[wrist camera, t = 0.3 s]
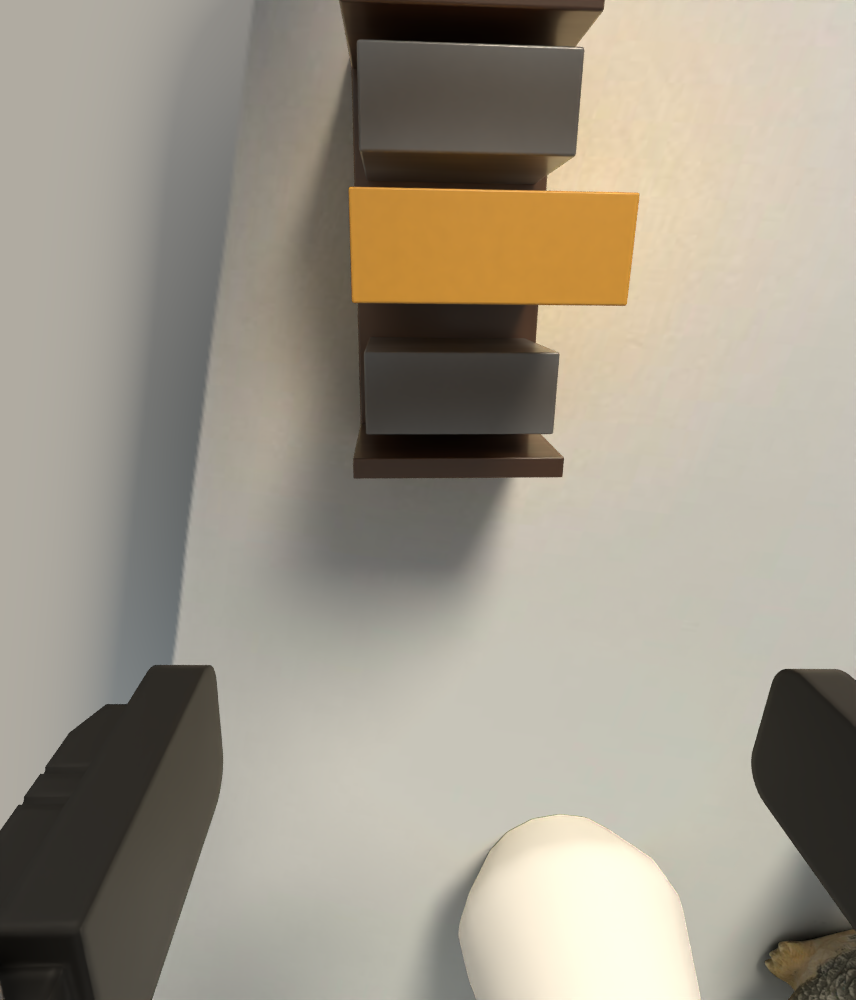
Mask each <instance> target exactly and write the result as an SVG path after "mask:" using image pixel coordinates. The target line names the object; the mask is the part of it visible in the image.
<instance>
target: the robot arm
mask: <svg viewBox="0 0 856 1000" xmlns="http://www.w3.org/2000/svg"><path fill="white" fill-rule="evenodd" d="M751 767H752V774H753V779H754V782H755V786H756V788H757V791H758V793H759V795H760V797H761V799H762V800H763V802H764V803H765V805H766V806H767V807H768V809H769V810H770V812H771V813H772V815H773V816H774V817H775V819H776V820H777V822H778V823H779V824H780V826H781V827H782V829H783V830H784V831H785V833H786V834H787V836H788V837H789V838H790V840H791V841H792V843H793V844H794V845H795V847H796V848H797V850H798V851H799V853H800V854H801V855H802V857H803V858H804V860H805V861H806V862H807V864H808V865H809V867H810V868H811V869H812V871H813V872H814V874H815V875H816V876H817V878H818V879H819V881H820V882H821V883H822V885H823V886H824V888H825V889H826V891H827V892H828V893H829V895H830V896H831V898H832V899H833V900H834V902H835V903H836V905H837V906H838V907H839V909H840V910H841V912H842V913H843V914H844V916H845V917H846V919H847V920H848V921H849V923H850V924H851V926H852V927H853V929H854V930H855V931H856V680H855V679H853V678H852V677H851V676H850V675H848V674H847V673H846V672H843V671H841V670H838V669H784V670H781V671H780V672H778V673H777V674H776V676H775V677H774V679H773V682H772V685H771V688H770V692H769V695H768V699H767V702H766V706H765V709H764V713H763V716H762V720H761V723H760V727H759V730H758V734H757V737H756V741H755V744H754V748H753V752H752V759H751ZM222 772H223V749H222V737H221V726H220V715H219V704H218V692H217V681H216V675H215V671H214V668H213V667H212V666H211V665H154V666H153V667H151V668H150V669H149V670H148V672H147V673H146V675H145V676H144V678H143V680H142V681H141V683H140V685H139V686H138V688H137V689H136V691H135V693H134V694H133V696H132V697H131V699H130V701H129V702H128V704H107V705H105V706H104V707H102V708H101V709H100V710H98V711H97V712H96V713H94V714H93V715H92V716H90V717H89V718H88V719H87V720H85V721H84V722H83V723H81V724H80V725H79V726H78V727H76V728H75V729H74V730H73V731H71V732H70V733H69V734H68V736H67V737H66V738H65V740H64V741H63V743H62V744H61V746H60V747H59V748H58V750H57V751H56V753H55V754H54V755H53V757H52V758H51V760H50V761H49V763H48V764H47V765H46V767H45V773H44V774H40V775H39V777H38V778H37V779H36V781H35V782H34V784H33V785H32V786H31V788H30V789H29V791H28V792H27V794H26V795H25V796H24V802H23V804H22V805H18V806H17V808H16V809H15V810H14V812H13V813H12V815H11V816H10V818H9V819H8V820H7V822H6V823H5V825H4V826H3V828H2V829H1V830H0V1000H152V998H153V995H154V992H155V989H156V986H157V983H158V980H159V977H160V974H161V971H162V968H163V965H164V962H165V959H166V956H167V953H168V950H169V947H170V944H171V941H172V938H173V935H174V932H175V929H176V926H177V923H178V920H179V917H180V914H181V911H182V908H183V905H184V902H185V899H186V896H187V893H188V890H189V887H190V884H191V881H192V877H193V874H194V871H195V868H196V865H197V862H198V859H199V856H200V853H201V850H202V847H203V844H204V841H205V838H206V835H207V832H208V829H209V826H210V823H211V820H212V817H213V814H214V811H215V808H216V805H217V802H218V798H219V793H220V788H221V781H222Z"/></svg>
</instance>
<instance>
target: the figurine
mask: <svg viewBox="0 0 856 1000" xmlns="http://www.w3.org/2000/svg"><path fill="white" fill-rule="evenodd" d="M769 955H770V957H771V958H770V959H768V960H766V961H765V965H766V966H767V968H768V969H769V971H770V972H771V973H772V974H774V975H775V976H776V977H778V978H779V979H781V980H783V981H785V982H787V983H788V984H789V985H790V986H791V987H792V988H793V990H794V991H795V992H794V993H793V994H792V995H791V997H790V998H789V999H788V1000H856V931H855V930H854V929H852V930H846V931H843V932H839V933H835V934H831V935H827V936H824V937H820V938H816V939H812V940H806V941H790V940H789V941H783V942H779V943H778V948H777V949H775V950H773V951H771V952H770V953H769Z"/></svg>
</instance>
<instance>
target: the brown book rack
mask: <svg viewBox="0 0 856 1000" xmlns="http://www.w3.org/2000/svg"><path fill="white" fill-rule="evenodd" d="M604 2H605V0H339V3H340V8H341V14H342V19H343V24H344V30H345V35H346V40H347V46H348V51H349V56H350V62H351V73H352V111H353V148H354V186H355V187H384V188H432V189H480V190H528V191H546V185H547V175H548V174H550V173H551V172H553V171H554V170H555V169H557V168H558V167H560V166H561V165H563V164H564V163H566V162H567V161H568V160H570V159H571V158H573V157H574V156H575V154H576V145H577V133H578V121H579V108H580V96H581V84H582V72H583V60H584V48H583V47H575V46H576V45H577V44H578V42H579V41H580V40H581V39H582V37H583V36H584V35H585V33H586V32H587V31H588V30H589V28H590V27H591V26H592V24H593V23H594V22H595V21H596V19H597V18H598V17H599V15H600V14H601V13H602V12H603V10H604ZM537 316H538V305H506V304H406V303H358V337H359V375H360V412H361V425H360V430H359V435H358V439H357V444H356V448H355V453H354V457H353V473H354V478H513V477H562V474H563V463H564V457H563V456H562V455H561V454H560V453H559V452H558V451H557V450H556V449H555V448H554V447H553V446H552V445H551V444H550V443H549V442H548V441H547V440H546V439H545V438H544V437H543V436H542V435H541V434H552V433H553V427H554V414H555V402H556V390H557V378H558V366H559V353H558V352H556V351H553V350H551V349H549V348H546V347H544V346H541V345H539V344H537V343H536V330H537Z"/></svg>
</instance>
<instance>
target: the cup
mask: <svg viewBox="0 0 856 1000" xmlns="http://www.w3.org/2000/svg"><path fill="white" fill-rule="evenodd" d="M458 937H459V941H460V945H461V949H462V953H463V958H464V962H465V966H466V970H467V974H468V978H469V981H470V984H471V987H472V990H473V993H474V995H475V998H476V1000H701V997H700V992H699V987H698V982H697V977H696V972H695V967H694V962H693V957H692V952H691V947H690V942H689V937H688V932H687V927H686V922H685V917H684V912H683V908H682V904H681V901H680V898H679V895H678V894H677V892H676V891H675V889H674V888H673V887H672V885H671V884H670V882H669V881H668V880H667V878H666V877H665V875H664V874H663V873H662V871H661V870H660V868H659V867H658V866H657V864H656V863H655V862H654V860H653V859H652V858H651V857H649V856H648V855H646V854H645V853H643V852H642V851H640V850H639V849H637V848H636V847H634V846H633V845H631V844H630V843H628V842H627V841H625V840H624V839H622V838H621V837H619V836H618V835H616V834H615V833H613V832H612V831H610V830H609V829H607V828H605V827H603V826H602V825H600V824H598V823H596V822H594V821H592V820H590V819H588V818H586V817H578V816H570V815H562V814H558V815H553V816H547V817H542V818H537V819H531V820H529V821H528V822H526V823H524V824H522V825H520V826H518V827H516V828H514V829H512V830H510V831H508V832H507V833H506V834H505V835H504V836H503V837H502V838H501V839H500V840H499V842H498V843H497V844H496V845H495V846H494V847H493V848H492V849H491V850H490V852H489V854H488V856H487V858H486V860H485V862H484V864H483V866H482V868H481V870H480V872H479V874H478V876H477V878H476V880H475V882H474V884H473V886H472V888H471V890H470V892H469V895H468V898H467V901H466V905H465V908H464V911H463V914H462V917H461V920H460V924H459V933H458Z"/></svg>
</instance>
